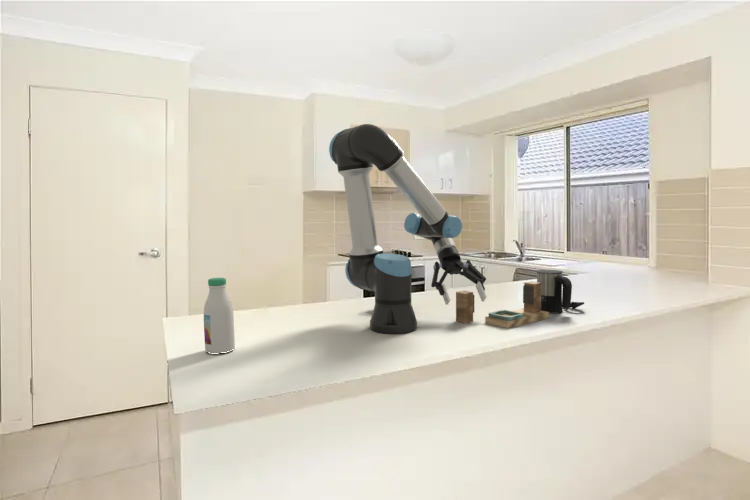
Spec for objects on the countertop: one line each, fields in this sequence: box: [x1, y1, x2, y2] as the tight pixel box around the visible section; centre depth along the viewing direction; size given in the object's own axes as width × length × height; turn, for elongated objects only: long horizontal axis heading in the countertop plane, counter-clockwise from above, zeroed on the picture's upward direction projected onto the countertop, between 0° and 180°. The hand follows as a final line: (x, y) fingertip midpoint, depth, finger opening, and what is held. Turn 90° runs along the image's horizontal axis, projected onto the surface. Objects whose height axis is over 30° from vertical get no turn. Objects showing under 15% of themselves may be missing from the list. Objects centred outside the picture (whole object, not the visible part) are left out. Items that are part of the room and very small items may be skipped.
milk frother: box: [536, 269, 585, 314], centre depth 167 cm, size 14×16×15 cm
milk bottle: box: [203, 277, 236, 353], centre depth 124 cm, size 8×8×20 cm
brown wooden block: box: [455, 290, 475, 324], centre depth 153 cm, size 5×4×10 cm
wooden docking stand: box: [484, 281, 550, 329], centre depth 153 cm, size 22×9×12 cm, turn 125°
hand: (466, 301), depth 154 cm, fingers open, 13 cm apart
